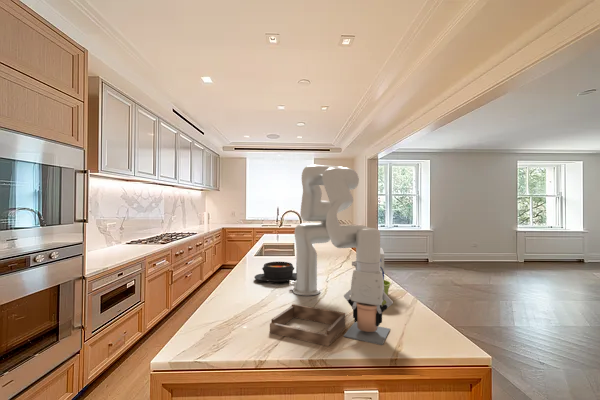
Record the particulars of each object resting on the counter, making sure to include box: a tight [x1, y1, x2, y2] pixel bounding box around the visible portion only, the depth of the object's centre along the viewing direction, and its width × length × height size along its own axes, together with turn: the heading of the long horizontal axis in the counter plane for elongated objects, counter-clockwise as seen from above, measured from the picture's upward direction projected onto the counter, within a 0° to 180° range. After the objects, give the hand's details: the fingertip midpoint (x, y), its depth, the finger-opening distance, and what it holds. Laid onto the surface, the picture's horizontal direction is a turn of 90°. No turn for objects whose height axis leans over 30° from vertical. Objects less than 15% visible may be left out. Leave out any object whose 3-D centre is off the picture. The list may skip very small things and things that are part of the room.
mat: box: [343, 322, 391, 346], centre depth 100 cm, size 12×12×1 cm
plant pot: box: [382, 279, 392, 306], centre depth 129 cm, size 9×9×9 cm
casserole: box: [254, 261, 296, 284], centre depth 164 cm, size 25×19×8 cm
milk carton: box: [380, 247, 385, 280], centre depth 146 cm, size 7×7×20 cm
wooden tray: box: [269, 303, 346, 347], centre depth 103 cm, size 20×16×4 cm
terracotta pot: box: [356, 303, 378, 332], centre depth 100 cm, size 7×7×8 cm
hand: (367, 322), depth 100 cm, fingers closed on terracotta pot, 6 cm apart
